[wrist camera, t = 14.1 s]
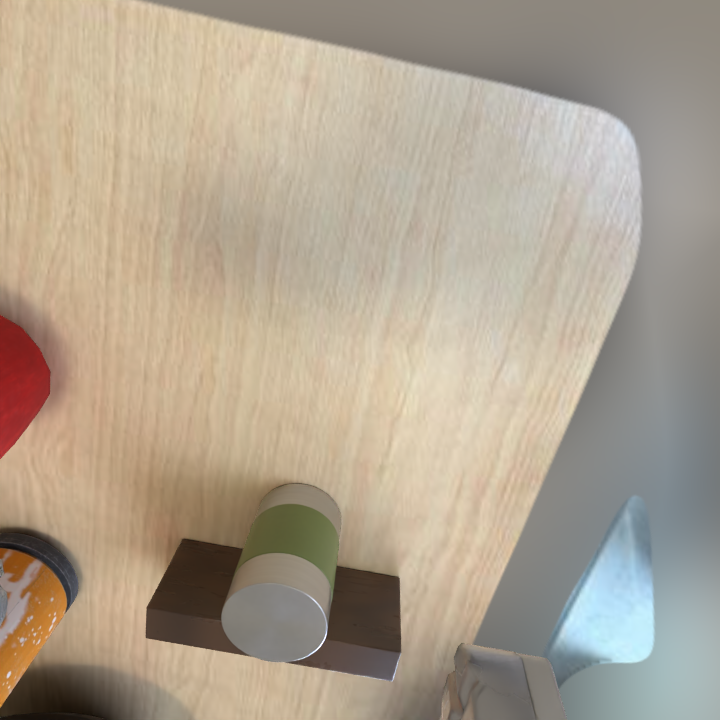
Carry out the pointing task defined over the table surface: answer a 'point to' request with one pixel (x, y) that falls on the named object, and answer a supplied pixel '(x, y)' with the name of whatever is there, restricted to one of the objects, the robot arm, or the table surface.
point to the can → (285, 576)
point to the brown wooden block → (346, 620)
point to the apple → (19, 382)
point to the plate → (51, 716)
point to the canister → (30, 602)
